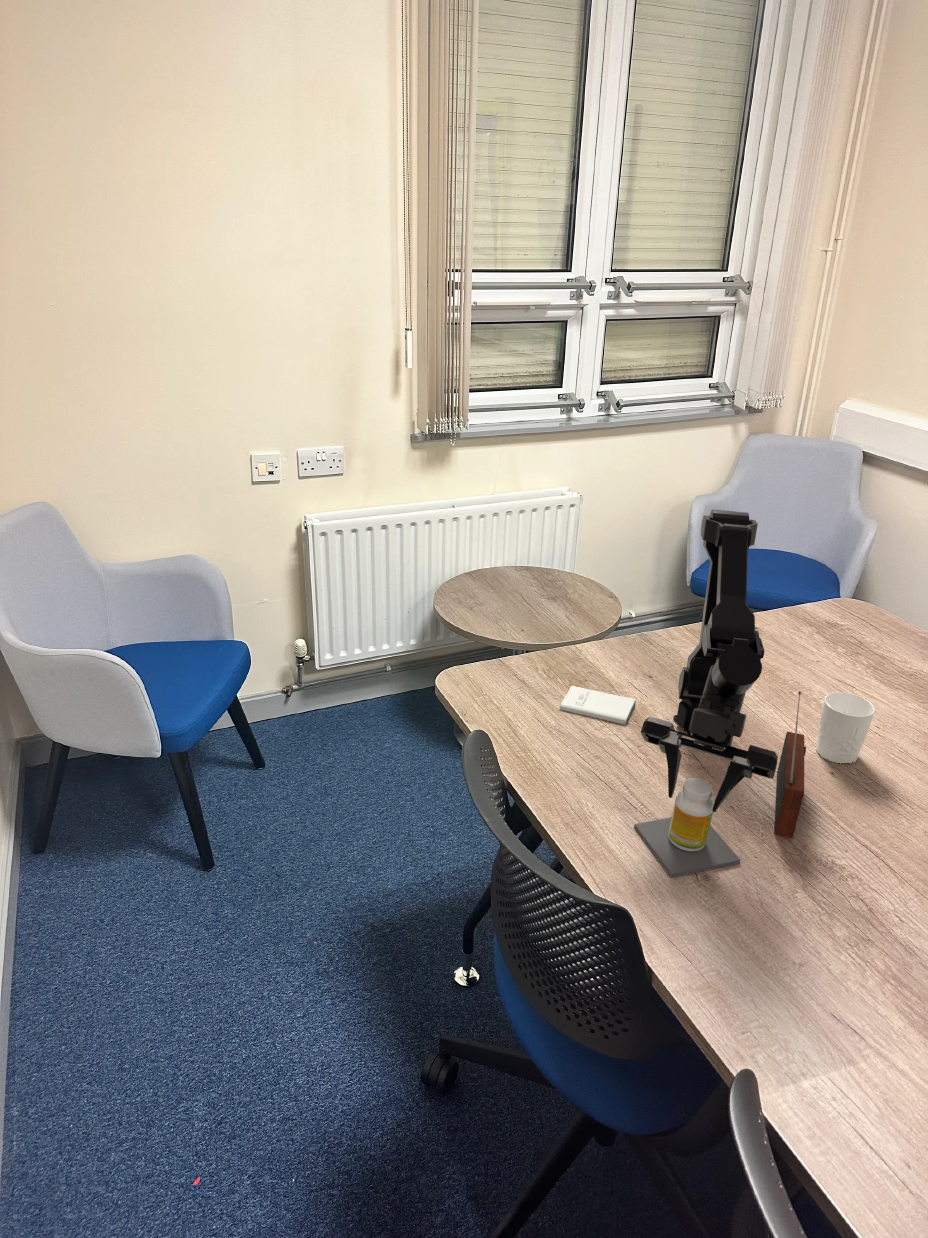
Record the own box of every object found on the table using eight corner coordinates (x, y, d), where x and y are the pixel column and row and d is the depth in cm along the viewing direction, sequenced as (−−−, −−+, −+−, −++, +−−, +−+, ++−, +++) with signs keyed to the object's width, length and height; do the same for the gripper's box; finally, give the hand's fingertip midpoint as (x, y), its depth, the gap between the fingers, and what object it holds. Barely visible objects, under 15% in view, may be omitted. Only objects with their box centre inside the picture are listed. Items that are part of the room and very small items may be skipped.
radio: (795, 840, 124) (816, 756, 117) (773, 835, 125) (794, 751, 118) (796, 771, 140) (815, 693, 133) (777, 767, 141) (795, 690, 134)
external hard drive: (625, 727, 151) (559, 711, 155) (634, 706, 158) (571, 691, 162) (626, 720, 150) (559, 704, 155) (635, 698, 157) (572, 684, 161)
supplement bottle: (706, 855, 119) (719, 800, 115) (668, 849, 120) (679, 794, 116) (704, 831, 124) (716, 778, 120) (667, 825, 125) (678, 771, 121)
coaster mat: (698, 815, 128) (698, 812, 128) (739, 863, 119) (740, 860, 119) (634, 827, 125) (634, 824, 125) (671, 877, 116) (672, 874, 116)
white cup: (861, 747, 146) (875, 698, 142) (860, 771, 140) (874, 721, 136) (813, 736, 149) (826, 687, 145) (810, 759, 143) (823, 709, 139)
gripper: (652, 668, 118) (619, 772, 114) (790, 703, 111) (760, 816, 107) (660, 691, 128) (630, 788, 124) (787, 725, 120) (759, 829, 116)
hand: (691, 804), depth 117 cm, fingers open, 6 cm apart
